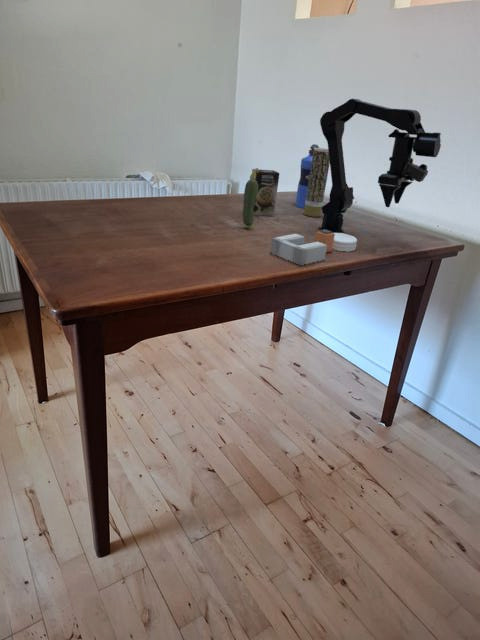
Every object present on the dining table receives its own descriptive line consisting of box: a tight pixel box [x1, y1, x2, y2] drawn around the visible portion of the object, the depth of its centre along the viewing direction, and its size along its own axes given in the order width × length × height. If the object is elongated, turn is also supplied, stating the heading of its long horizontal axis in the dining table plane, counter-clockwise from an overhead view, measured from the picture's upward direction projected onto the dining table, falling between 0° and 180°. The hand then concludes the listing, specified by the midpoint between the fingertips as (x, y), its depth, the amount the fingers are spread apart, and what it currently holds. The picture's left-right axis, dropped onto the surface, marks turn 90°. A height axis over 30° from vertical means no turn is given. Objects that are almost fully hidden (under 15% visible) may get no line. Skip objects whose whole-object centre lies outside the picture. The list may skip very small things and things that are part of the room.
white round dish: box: [332, 232, 358, 253], centre depth 145 cm, size 10×10×4 cm
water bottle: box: [294, 143, 320, 209], centre depth 190 cm, size 9×9×25 cm
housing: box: [270, 233, 327, 266], centre depth 132 cm, size 12×10×5 cm
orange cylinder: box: [314, 229, 335, 253], centre depth 139 cm, size 4×4×6 cm
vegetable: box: [242, 167, 260, 229], centre depth 151 cm, size 4×4×20 cm
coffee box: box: [251, 168, 280, 217], centre depth 172 cm, size 9×6×16 cm
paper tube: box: [303, 147, 330, 218], centre depth 176 cm, size 7×7×25 cm
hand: (392, 205), depth 147 cm, fingers open, 9 cm apart
